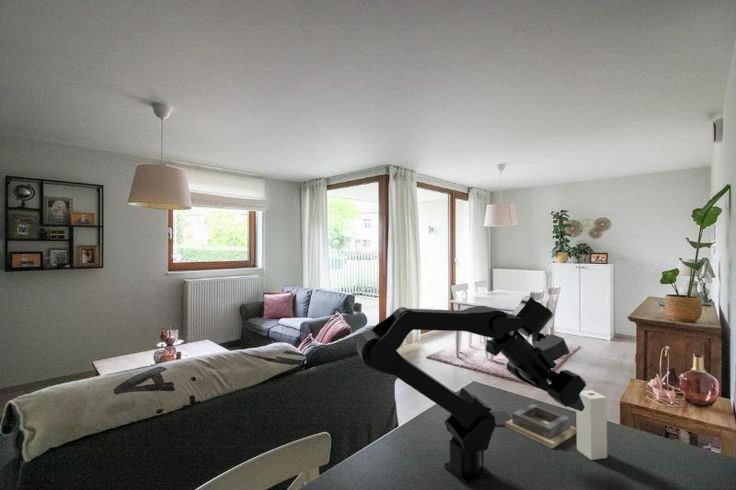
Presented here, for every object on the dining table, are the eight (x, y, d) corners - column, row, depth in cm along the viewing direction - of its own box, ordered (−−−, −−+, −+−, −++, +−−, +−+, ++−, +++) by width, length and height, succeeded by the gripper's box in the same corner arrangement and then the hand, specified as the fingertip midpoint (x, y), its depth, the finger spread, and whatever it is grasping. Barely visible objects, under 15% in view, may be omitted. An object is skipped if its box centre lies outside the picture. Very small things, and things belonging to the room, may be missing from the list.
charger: (591, 459, 75) (590, 398, 75) (576, 449, 79) (576, 390, 79) (607, 457, 76) (606, 396, 76) (592, 447, 80) (591, 389, 80)
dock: (552, 448, 80) (552, 432, 80) (505, 426, 90) (505, 412, 90) (577, 432, 86) (577, 418, 86) (531, 413, 96) (531, 400, 96)
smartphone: (452, 411, 97) (507, 410, 97) (452, 414, 97) (507, 413, 97) (458, 424, 90) (517, 423, 90) (458, 428, 90) (518, 427, 90)
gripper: (576, 334, 67) (627, 388, 69) (517, 315, 85) (558, 358, 87) (540, 379, 65) (592, 433, 67) (487, 350, 83) (530, 393, 85)
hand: (566, 399), depth 77 cm, fingers open, 9 cm apart
